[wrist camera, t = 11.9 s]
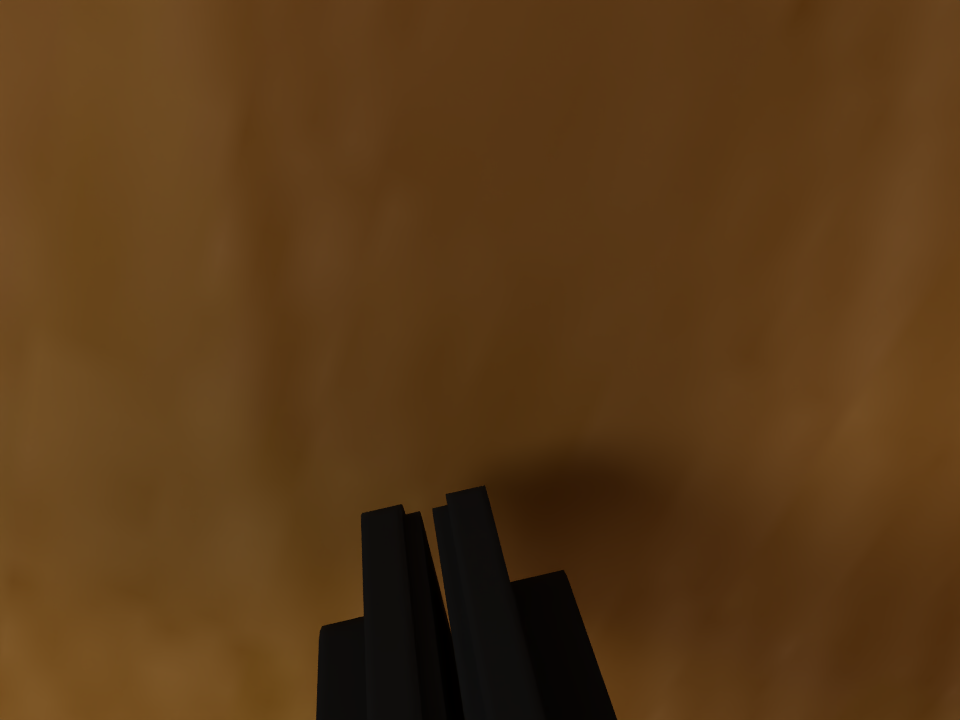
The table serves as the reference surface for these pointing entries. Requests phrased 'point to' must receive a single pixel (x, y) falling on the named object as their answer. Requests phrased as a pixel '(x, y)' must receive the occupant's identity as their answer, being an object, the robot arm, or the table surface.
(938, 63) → the table surface
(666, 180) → the table surface
